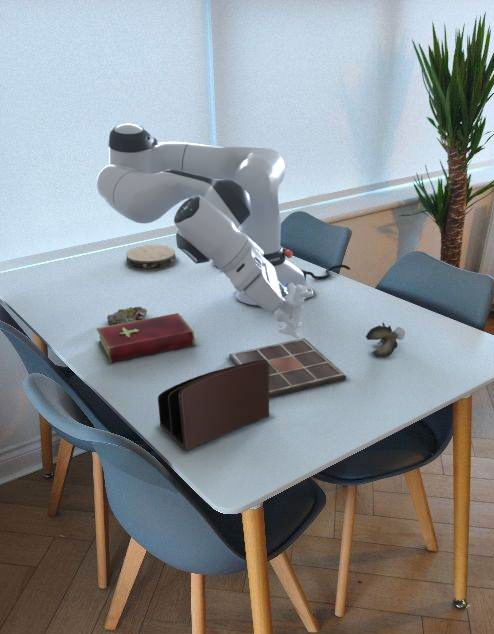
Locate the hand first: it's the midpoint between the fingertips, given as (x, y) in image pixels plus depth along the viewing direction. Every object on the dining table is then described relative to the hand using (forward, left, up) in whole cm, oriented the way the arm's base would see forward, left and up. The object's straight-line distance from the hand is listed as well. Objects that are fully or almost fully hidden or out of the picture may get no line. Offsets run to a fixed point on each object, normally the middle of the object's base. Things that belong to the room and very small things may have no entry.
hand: (288, 304), depth 131 cm
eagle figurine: (-25, +1, -16) cm, 30 cm away
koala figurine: (0, 0, -7) cm, 7 cm away
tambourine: (+10, -82, -16) cm, 84 cm away
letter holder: (+23, +14, -16) cm, 31 cm away
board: (+1, 0, -16) cm, 16 cm away
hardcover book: (+27, -25, -16) cm, 40 cm away
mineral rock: (+28, -41, -16) cm, 52 cm away
